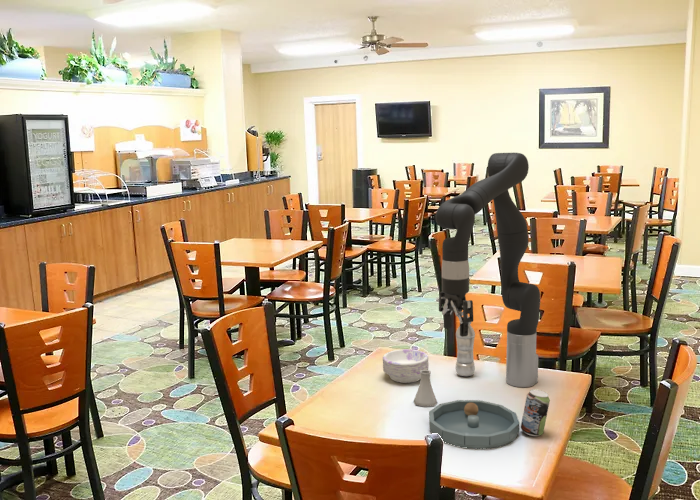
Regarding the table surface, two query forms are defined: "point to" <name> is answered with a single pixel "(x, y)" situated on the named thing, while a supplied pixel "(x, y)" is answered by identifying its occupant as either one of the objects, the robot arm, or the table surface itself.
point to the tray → (474, 437)
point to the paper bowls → (405, 365)
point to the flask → (425, 391)
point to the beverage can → (535, 412)
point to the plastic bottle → (465, 352)
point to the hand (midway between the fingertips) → (455, 331)
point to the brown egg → (471, 409)
